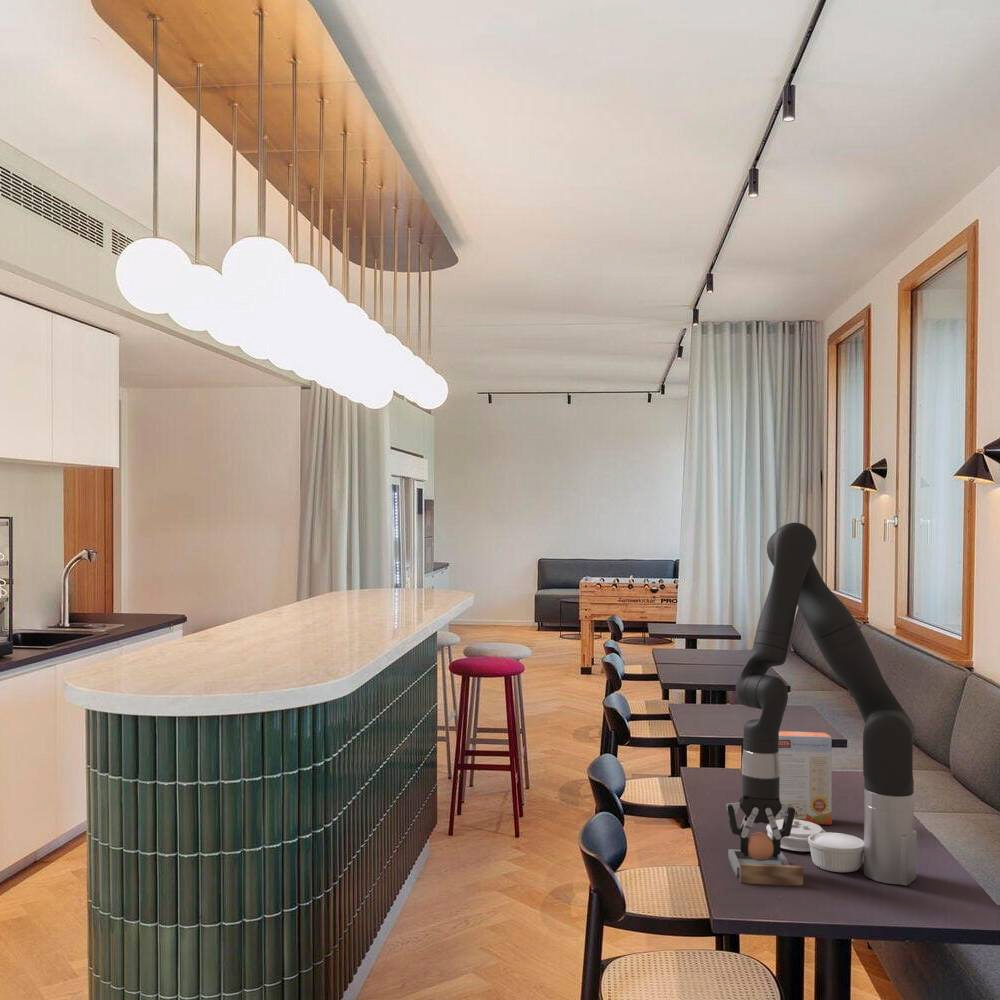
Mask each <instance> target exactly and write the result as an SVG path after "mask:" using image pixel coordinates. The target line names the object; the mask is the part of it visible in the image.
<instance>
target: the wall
mask: <svg viewBox="0 0 1000 1000" xmlns="http://www.w3.org/2000/svg"><path fill="white" fill-rule="evenodd" d="M739 883H740V884H751V885H753V884H754V885H769V884H775V885H774V886H790V885H803V886H804V867H803V865H791V864H790V865H773V864H751V863H740V878H739ZM776 884H777V885H776Z"/></svg>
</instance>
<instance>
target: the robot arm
mask: <svg viewBox="0 0 1000 1000" xmlns="http://www.w3.org/2000/svg"><path fill="white" fill-rule="evenodd" d="M816 551H817V539H816V535H815V534H814V532H813V530H812V529H811V528H810V527H809V526H807V525H805V524H804V523H801V522H789V523H786V524H783V525H782V526H780V527H779V528H777V530H775V532H773V533H772V534H771V536H770V537H769V538H768V541H767V543H766V553H767V557H768V560H769V561H770V563H771V564H772V566H773V572H772V576H771V577H772V578H771V581H770V585H769V590H768V592H767V596H766V598H765V601H764V604H763V607H762V611H761V613H760V616H759V619H758V623H757V627H756V629H755V630H756V632H755V636H754V641H753V646H752V650H751V652H750V654H749V656H748V657H747V659H746V661H745V662H744V663H745V664H744V665H743V667H742V669H741V671H740V673H739V674H738V675H739V676H738V677H737V680H736V683H735V695H736V699H737V700H738V702H739V703H740V704H741V705H743V706H745V707H747V708H754V709H758V710H761V713H760V717H759V718H757V719H756V718H755V719H750V720H747V721H745V723H744V725H743V737H742V738H743V740H742V741H743V745H742V747H743V750H742V756H741V796H740V799H739V800H738V802H730V801H728V802H726V803H725V808H726V812H727V818H728V822H729V828H730V830H731V832H732V834H733V835H734V836H735V835H737V836H739V850H740V851H741V853H743V855H744V856H748V834H749V833H750V830H751V829H752V827H753V825H754V824H759V823H761V824H765V825H768V824H769V825H770V828H771V830H772V833H773V836H772V841H773V844H774V852H773V855H772V856H773V857H775V858H777V855H780V852H781V849H782V848H780V847H781V838H783V837H785V836H786V837H788V836H790V833H791V828H792V824H793V819H794V815H795V809H794V808H793V806H792V805H783V804H781V802H780V799H779V787H780V761H779V752H778V751H779V731H780V728H781V726H782V721H783V718H784V713H785V711H786V708H787V704H788V701H789V700H788V699H789V692H788V687H787V685H786V682H785V681H784V680H783V679H782V678H780V677H778V676H774V675H769V674H767V672H768V671H769V670H770V668H773V667H779V666H782V665H784V664H785V663H786V661H787V658H788V654H789V653H788V652H789V648H790V642H791V638H792V632H793V627H794V624H795V617H796V613H797V608H798V609H799V612H800V613H801V616H802V618H803V620H804V622H805V623H806V625H807V628H808V629H809V631H810V634H811V636H812V638H813V640H814V642H815V643H816V646H817V647H818V650H819V652H820V654H821V655H822V657H823V659H824V660H825V662H826V663H827V665H828V666H829V667H830V669H831V670H832V672H833V673H834V674H835V676H837V678H838V679H839V680H840V681H841V683H843V685H844V686H845V687H846V689H847V690H848V691H849V692H850V694H851V696H852V698H853V700H854V701H855V703H856V706H857V708H858V709H859V713H860V714H861V717H862V719H863V722H864V724H865V725H864V727H863V732H862V763H863V764H862V771H863V772H862V773H863V781H864V785H863V786H864V788H863V789H864V790H863V791H864V792H863V793H864V795H863V797H864V798H863V800H864V801H863V809H864V810H863V841H864V853H863V874H864V876H866V877H867V878H869V879H871V880H873V881H876V882H879V883H882V884H883V883H884V884H890V885H901V886H906V887H907V886H909V885H910V884H911V883H912V882H914V881H915V880H916V879H917V873H918V869H917V868H918V866H917V862H918V859H917V858H918V857H917V856H918V844H917V843H918V839H917V838H918V832H917V830H916V829H914V799H915V796H914V794H915V793H914V792H915V791H914V790H915V789H914V787H915V784H914V783H915V781H914V773H913V772H914V770H913V769H914V767H913V759H914V755H913V754H914V753H913V751H914V749H913V748H914V740H915V736H916V735H915V734H916V731H915V725H914V723H913V722H912V720H911V718H910V717H909V715H908V713H907V712H906V711H905V709H904V707H902V705H901V704H900V702H899V701H898V699H897V698H896V696H895V695H894V693H893V692H892V691H891V689H890V687H889V686H888V684H887V683H886V680H885V679H884V677H883V675H882V673H881V670H880V668H879V665H878V662H877V661H876V658H875V656H874V653H873V652H872V650H871V648H870V646H869V644H868V642H867V640H866V637H865V636H864V634H863V632H862V630H861V628H860V626H859V625H858V622H856V620H855V617H854V616H853V615H852V613H851V612H850V610H849V609H848V608H847V607H846V605H845V604H844V603H843V601H841V600H840V598H838V597H837V596H836V595H835V593H834V592H833V591H832V590H831V589H830V587H828V585H827V584H826V583H825V581H824V579H823V578H822V576H821V574H820V572H819V570H818V568H817V565H816V564H815V562H814V559H813V558H814V556H815V553H816ZM797 606H798V607H797ZM739 809H740V810H741V811H742V812H743V813H744V816H743V819H742V821H741V822H742V823H741V826H740V827H738V823H737V820H736V819H737V818H736V815H737V814H738V813H739ZM780 810H782V811H783V815H784V816H785V817H784V821H783V826H782V829H778V826H777V824H776V821H775V819H774V818H775V817H776V815H777V814H778V813H779V812H780Z"/></svg>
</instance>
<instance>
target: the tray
mask: <svg viewBox="0 0 1000 1000" xmlns="http://www.w3.org/2000/svg"><path fill="white" fill-rule="evenodd" d="M727 850H728V852H727V855H728V856H727V859H728V861H729V864H730V865H731V868H732V870H733V873H734V874H735V877H736V878H738V879H740V863H751V864H773V865H791V864H790V863H789V861H788V859H787V858H786V855H784V853H783V851H780V855H777V858H775V857H773V856H771V857H770V858H769V859H768V860H766V861H757V860H754V859H753V858H751V857H750V855H749V854H748V856H744V855H743V853H741V851H740V849H737V848H736V849H735V848H734V849H731V848H729V849H727Z"/></svg>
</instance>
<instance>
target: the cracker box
mask: <svg viewBox="0 0 1000 1000" xmlns="http://www.w3.org/2000/svg"><path fill="white" fill-rule="evenodd" d="M832 739H833V738H832V736H831V735H830V734H828V733H827V732H816V731H815V732H814V731H791V730H790V731H789V730H788V731H786V730H785V731H783V730H779V751H778V752H779V761H780V787H779V799H780V802H781V804H783V805H792V806H793V808H794V809H795V815H794V819H796V820H803V821H808V822H811V823H814V824H817V825H827V826H828V825H830V826H831V825H832V824H833V823H832V821H833V800H832V799H833V795H832V794H833V793H832V792H833V791H832V789H833V787H832V786H833V776H832V775H833V771H832V770H833V768H832V767H833V762H832V760H833V759H832V757H833V756H832V754H833V750H832V749H833V747H832V743H833V742H832V741H833V740H832ZM784 817H785V816H784V815H783V811H782V810H780V812H779V813H778V814H777V815H776V817H775V818H774V819H775V820H780V819H784Z"/></svg>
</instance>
